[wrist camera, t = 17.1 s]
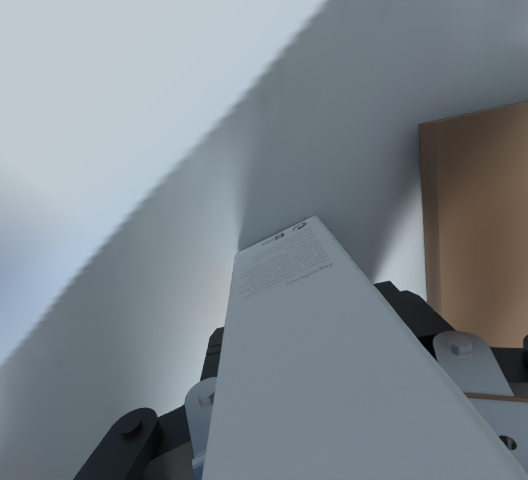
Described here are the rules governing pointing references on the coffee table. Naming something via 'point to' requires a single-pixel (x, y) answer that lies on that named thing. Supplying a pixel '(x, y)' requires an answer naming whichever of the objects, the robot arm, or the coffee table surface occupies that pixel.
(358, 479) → the skincare box
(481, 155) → the lid
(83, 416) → the coffee table surface
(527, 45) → the coffee table surface
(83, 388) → the coffee table surface
